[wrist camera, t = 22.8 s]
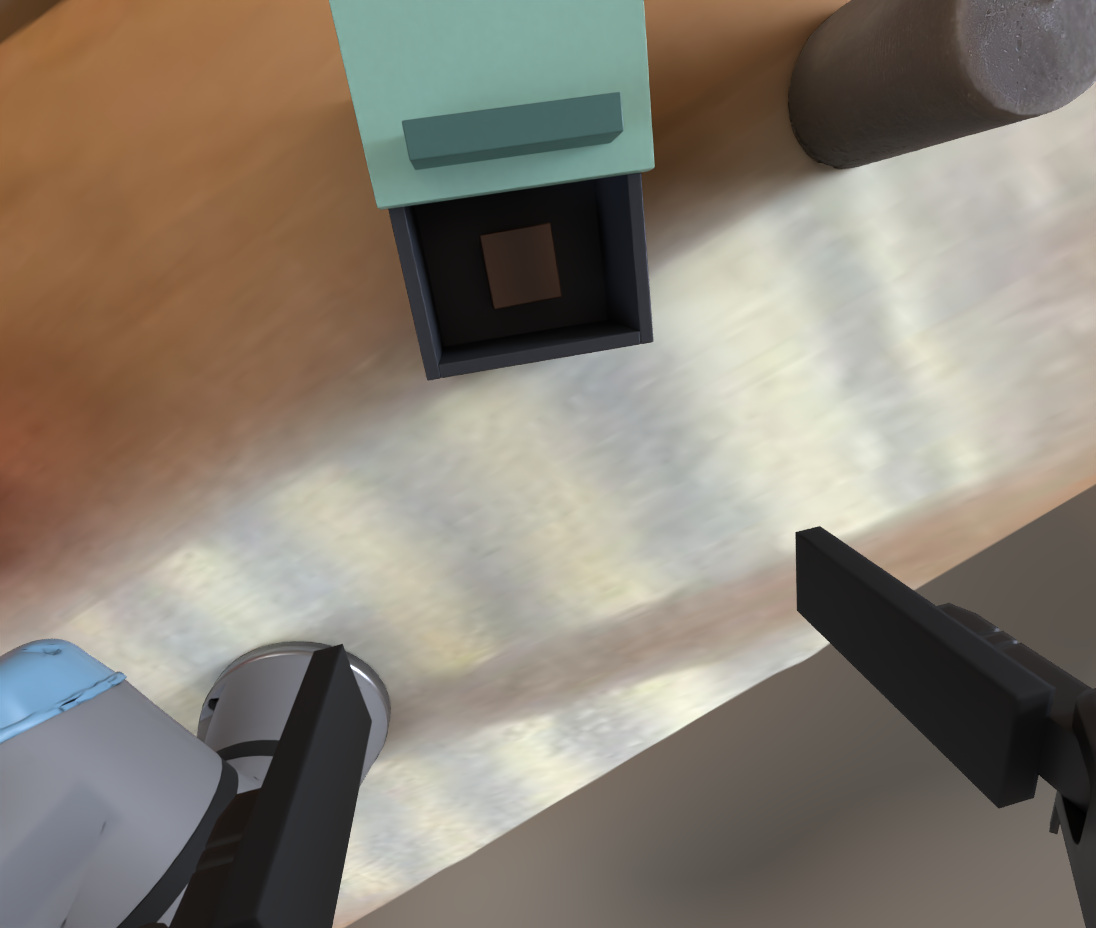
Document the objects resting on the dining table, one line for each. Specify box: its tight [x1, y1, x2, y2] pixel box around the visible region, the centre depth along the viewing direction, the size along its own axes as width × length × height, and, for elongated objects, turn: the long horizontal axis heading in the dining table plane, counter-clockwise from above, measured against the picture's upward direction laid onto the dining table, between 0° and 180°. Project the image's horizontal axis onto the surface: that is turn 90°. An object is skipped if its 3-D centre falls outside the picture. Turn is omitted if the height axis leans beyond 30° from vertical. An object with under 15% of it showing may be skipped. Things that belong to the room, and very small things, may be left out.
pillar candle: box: [788, 0, 1096, 169], centre depth 30 cm, size 10×10×15 cm
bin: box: [388, 172, 653, 380], centre depth 33 cm, size 14×17×9 cm
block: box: [479, 223, 562, 309], centre depth 35 cm, size 4×4×4 cm
